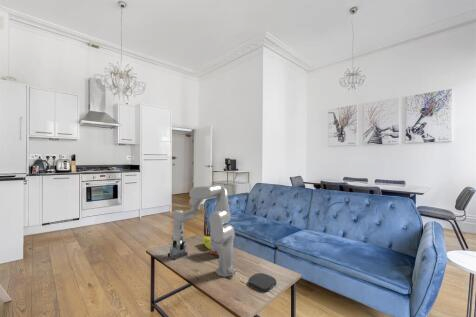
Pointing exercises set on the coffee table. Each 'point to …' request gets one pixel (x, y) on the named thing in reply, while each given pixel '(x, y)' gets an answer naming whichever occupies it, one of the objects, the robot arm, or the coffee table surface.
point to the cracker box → (213, 246)
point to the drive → (176, 250)
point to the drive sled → (178, 255)
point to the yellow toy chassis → (206, 242)
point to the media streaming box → (262, 282)
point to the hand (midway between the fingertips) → (178, 248)
